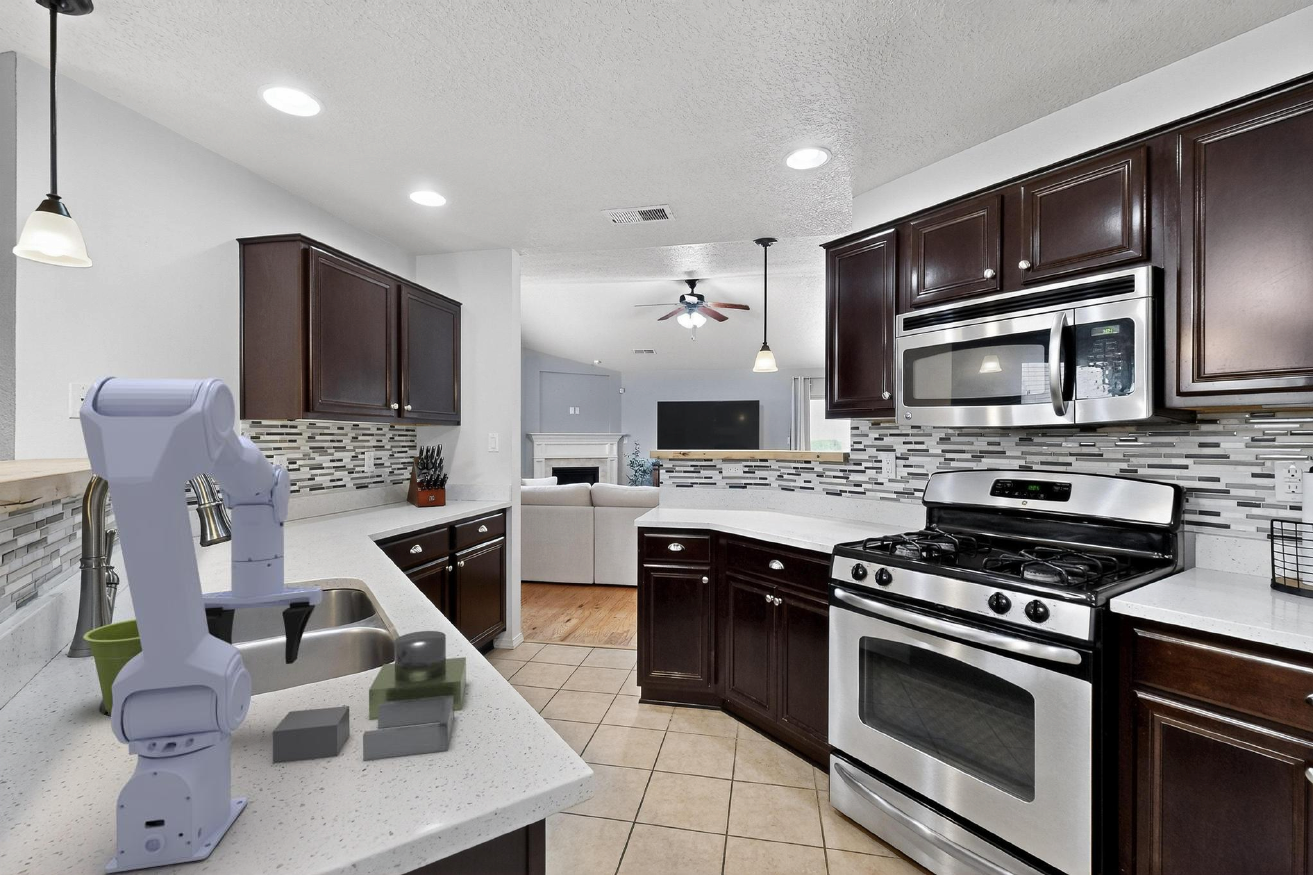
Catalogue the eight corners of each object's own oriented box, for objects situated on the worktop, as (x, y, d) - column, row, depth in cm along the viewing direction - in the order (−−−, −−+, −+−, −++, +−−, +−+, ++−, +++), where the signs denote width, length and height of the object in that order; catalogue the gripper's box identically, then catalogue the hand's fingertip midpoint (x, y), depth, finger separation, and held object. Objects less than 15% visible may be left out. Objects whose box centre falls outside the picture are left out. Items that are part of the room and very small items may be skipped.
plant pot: (64, 728, 83) (63, 644, 83) (109, 694, 94) (109, 620, 94) (170, 715, 87) (170, 634, 87) (201, 684, 98) (201, 612, 98)
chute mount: (453, 749, 76) (452, 676, 76) (347, 762, 73) (346, 685, 73) (466, 682, 97) (465, 625, 97) (383, 690, 94) (383, 631, 95)
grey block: (337, 757, 75) (337, 724, 75) (273, 765, 73) (272, 731, 73) (349, 736, 80) (349, 705, 80) (289, 743, 79) (289, 711, 79)
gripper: (328, 550, 85) (329, 649, 85) (208, 555, 82) (209, 658, 82) (312, 558, 79) (313, 666, 78) (181, 565, 75) (181, 678, 75)
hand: (258, 664), depth 80 cm, fingers open, 7 cm apart
